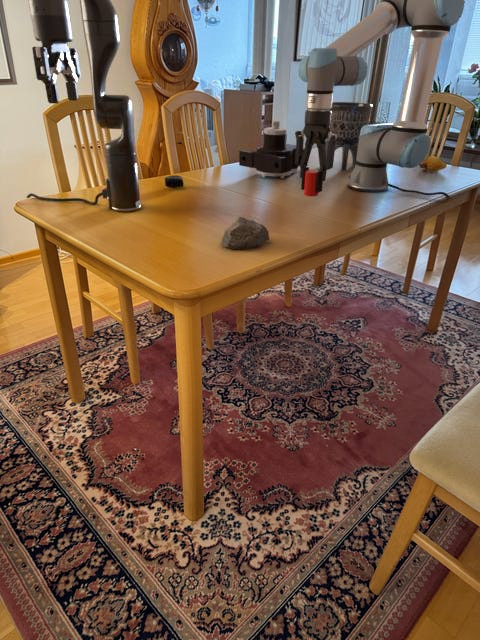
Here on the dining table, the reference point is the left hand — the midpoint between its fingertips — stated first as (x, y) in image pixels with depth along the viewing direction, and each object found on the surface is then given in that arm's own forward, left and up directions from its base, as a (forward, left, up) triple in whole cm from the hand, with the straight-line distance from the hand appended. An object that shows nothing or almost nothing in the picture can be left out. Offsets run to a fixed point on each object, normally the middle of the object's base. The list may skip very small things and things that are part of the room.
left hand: (64, 101), depth 101 cm
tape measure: (+4, +63, -34) cm, 72 cm away
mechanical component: (+40, +99, -34) cm, 112 cm away
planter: (+67, +120, -34) cm, 141 cm away
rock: (+41, +11, -34) cm, 54 cm away
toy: (+107, +125, -34) cm, 168 cm away
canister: (+56, +44, -28) cm, 76 cm away
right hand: (+56, +44, -27) cm, 76 cm away
